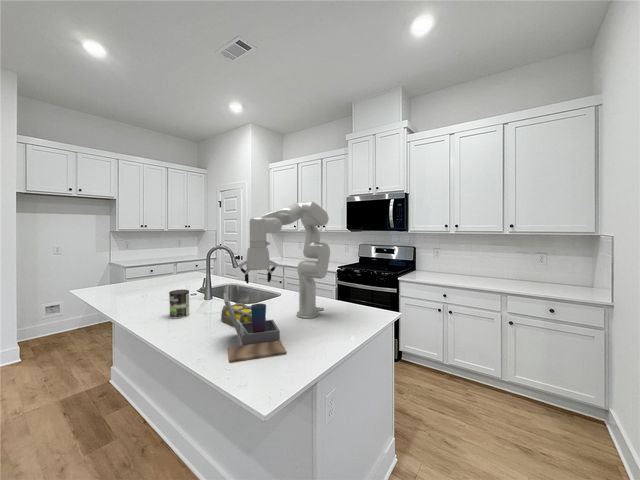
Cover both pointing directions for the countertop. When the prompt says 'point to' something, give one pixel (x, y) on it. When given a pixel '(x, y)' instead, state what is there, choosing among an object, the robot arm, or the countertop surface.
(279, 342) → the walnut board
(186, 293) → the coffee can
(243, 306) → the cage light
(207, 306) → the countertop surface
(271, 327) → the equipment case
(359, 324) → the countertop surface
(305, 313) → the robot arm
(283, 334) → the countertop surface
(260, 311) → the cup
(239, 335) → the case lid
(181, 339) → the countertop surface
